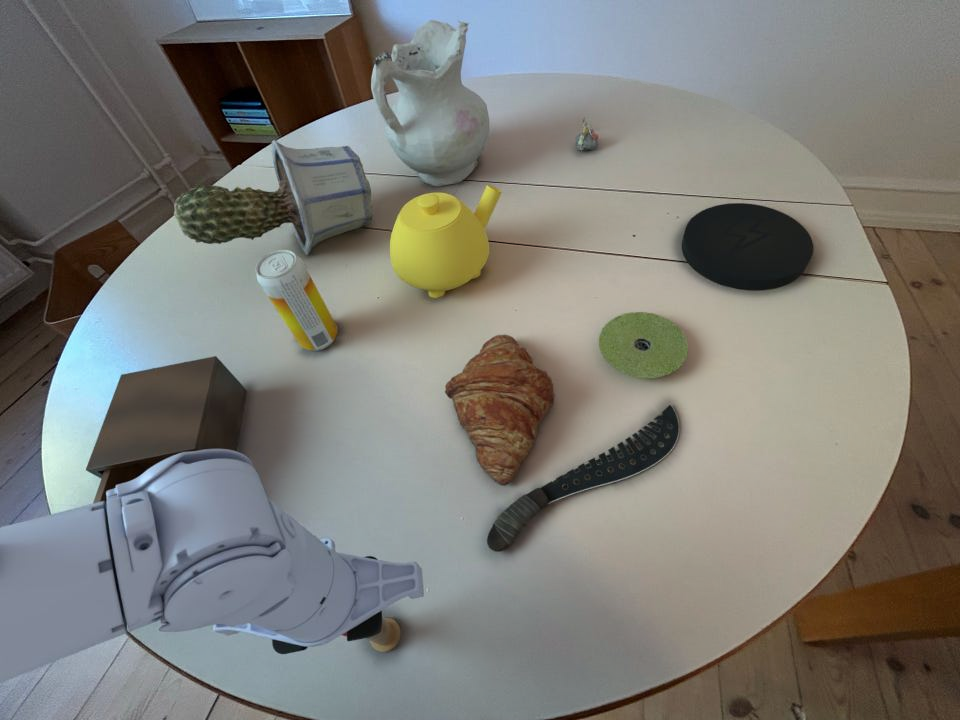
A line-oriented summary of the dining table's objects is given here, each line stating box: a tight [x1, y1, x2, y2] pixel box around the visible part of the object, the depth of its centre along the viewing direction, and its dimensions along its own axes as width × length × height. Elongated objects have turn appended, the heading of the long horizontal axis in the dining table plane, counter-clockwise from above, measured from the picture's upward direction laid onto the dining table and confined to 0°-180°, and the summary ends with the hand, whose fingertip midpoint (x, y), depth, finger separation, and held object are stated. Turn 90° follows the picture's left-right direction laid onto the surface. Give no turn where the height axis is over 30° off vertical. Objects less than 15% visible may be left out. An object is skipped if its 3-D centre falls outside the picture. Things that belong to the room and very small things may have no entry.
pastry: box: [444, 334, 556, 486], centre depth 60 cm, size 17×15×8 cm
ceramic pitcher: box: [370, 19, 490, 187], centre depth 88 cm, size 22×20×25 cm
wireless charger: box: [681, 202, 814, 291], centre depth 74 cm, size 18×18×2 cm
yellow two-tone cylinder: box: [255, 249, 338, 352], centre depth 68 cm, size 6×6×15 cm
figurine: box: [575, 117, 599, 151], centre depth 95 cm, size 5×4×6 cm
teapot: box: [389, 184, 503, 299], centre depth 75 cm, size 20×16×14 cm
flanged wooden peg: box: [365, 616, 401, 653], centre depth 46 cm, size 3×3×7 cm
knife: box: [486, 403, 680, 553], centre depth 55 cm, size 28×2×5 cm
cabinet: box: [85, 355, 248, 479], centre depth 62 cm, size 14×13×8 cm
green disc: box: [598, 311, 689, 380], centre depth 65 cm, size 11×11×2 cm
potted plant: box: [173, 139, 374, 255], centre depth 81 cm, size 18×18×30 cm
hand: (357, 619), depth 41 cm, fingers closed on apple, 3 cm apart
